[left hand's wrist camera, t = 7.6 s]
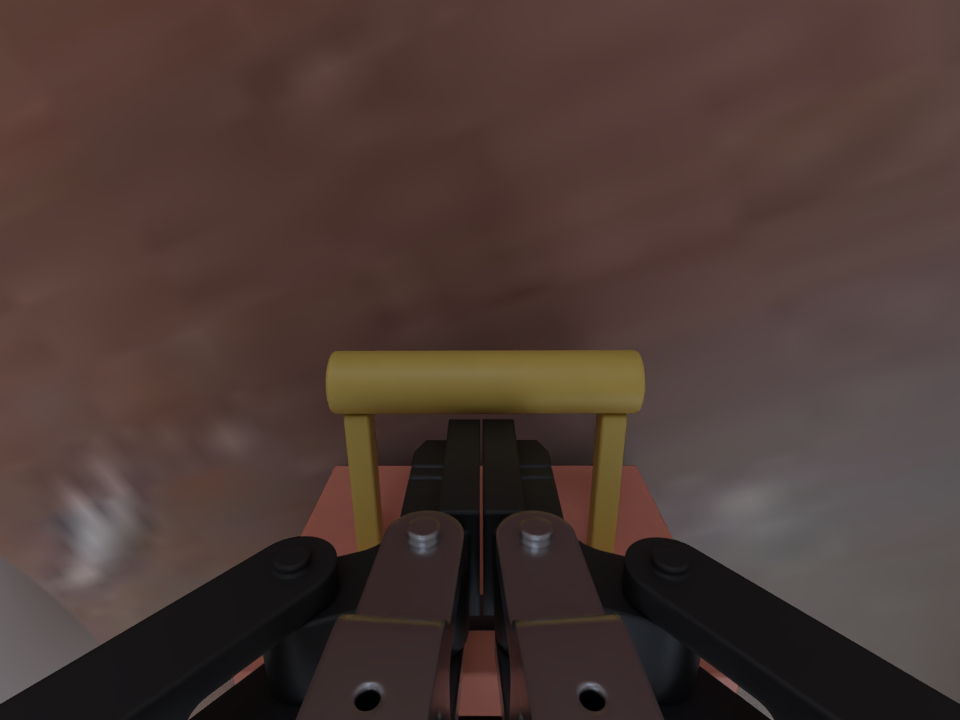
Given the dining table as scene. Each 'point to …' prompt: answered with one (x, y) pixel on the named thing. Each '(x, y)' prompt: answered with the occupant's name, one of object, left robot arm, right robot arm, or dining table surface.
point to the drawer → (482, 390)
